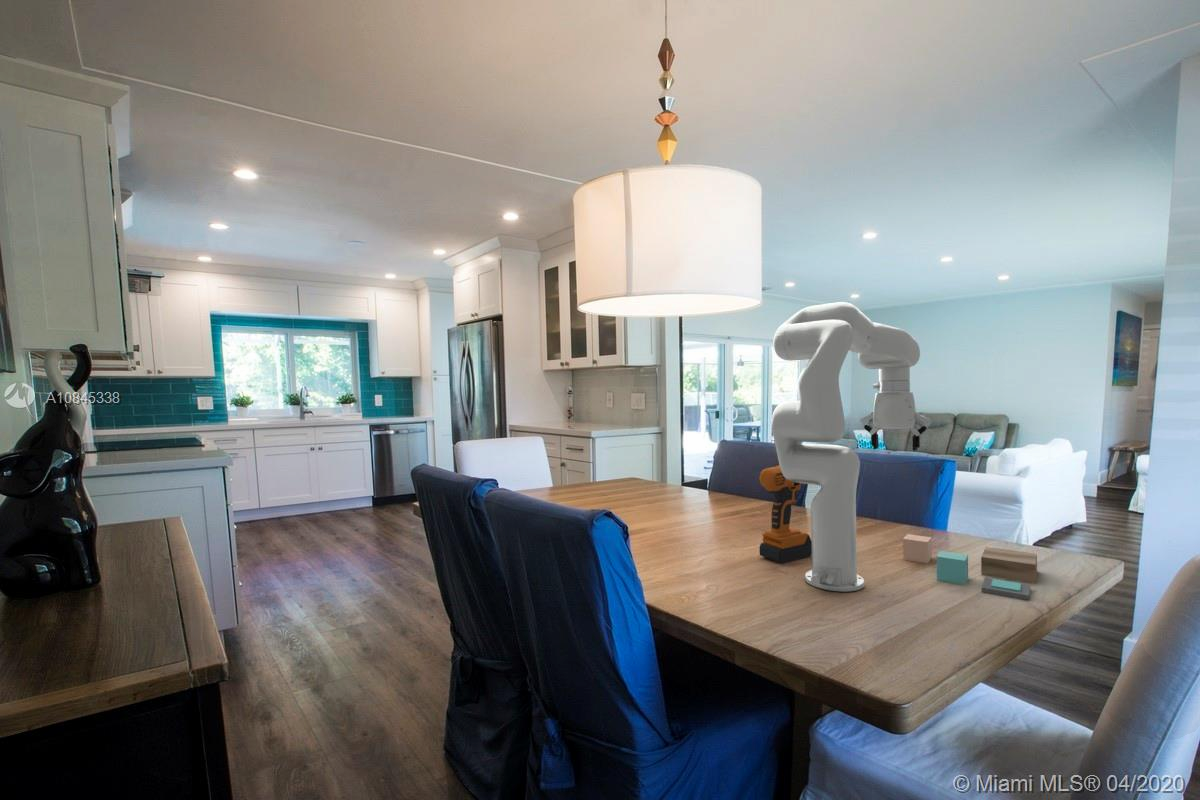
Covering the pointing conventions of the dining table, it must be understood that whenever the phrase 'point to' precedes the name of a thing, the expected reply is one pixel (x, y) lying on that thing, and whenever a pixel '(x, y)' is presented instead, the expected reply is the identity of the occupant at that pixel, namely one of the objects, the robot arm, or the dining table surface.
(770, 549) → the power drill
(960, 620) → the dining table surface
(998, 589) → the tile
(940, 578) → the teal block
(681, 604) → the dining table surface
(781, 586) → the dining table surface
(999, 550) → the walnut block
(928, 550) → the terracotta block
